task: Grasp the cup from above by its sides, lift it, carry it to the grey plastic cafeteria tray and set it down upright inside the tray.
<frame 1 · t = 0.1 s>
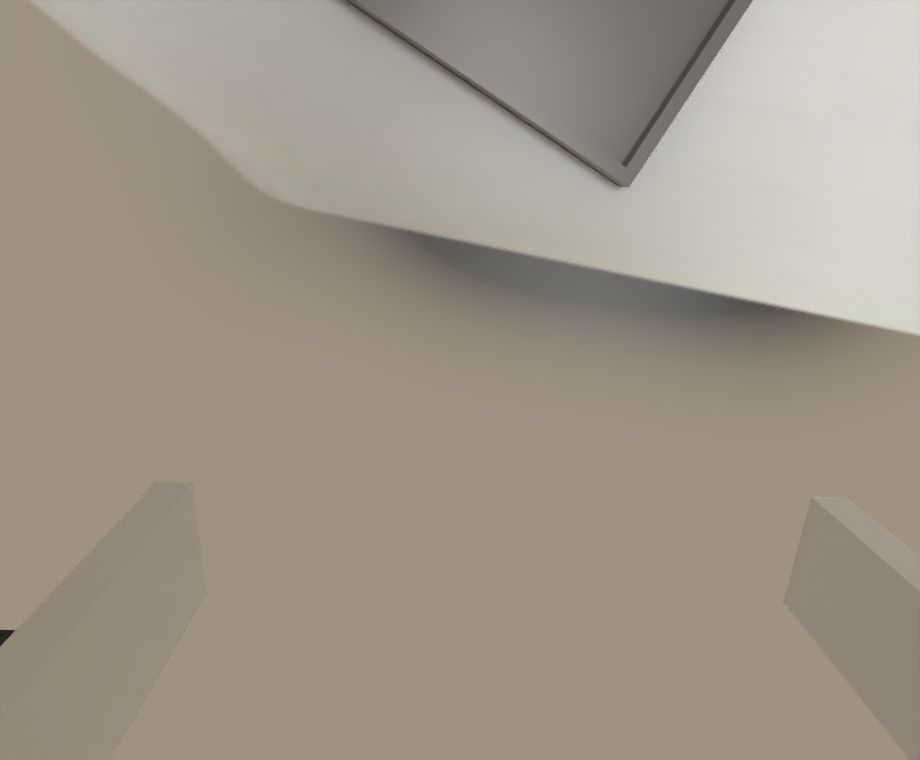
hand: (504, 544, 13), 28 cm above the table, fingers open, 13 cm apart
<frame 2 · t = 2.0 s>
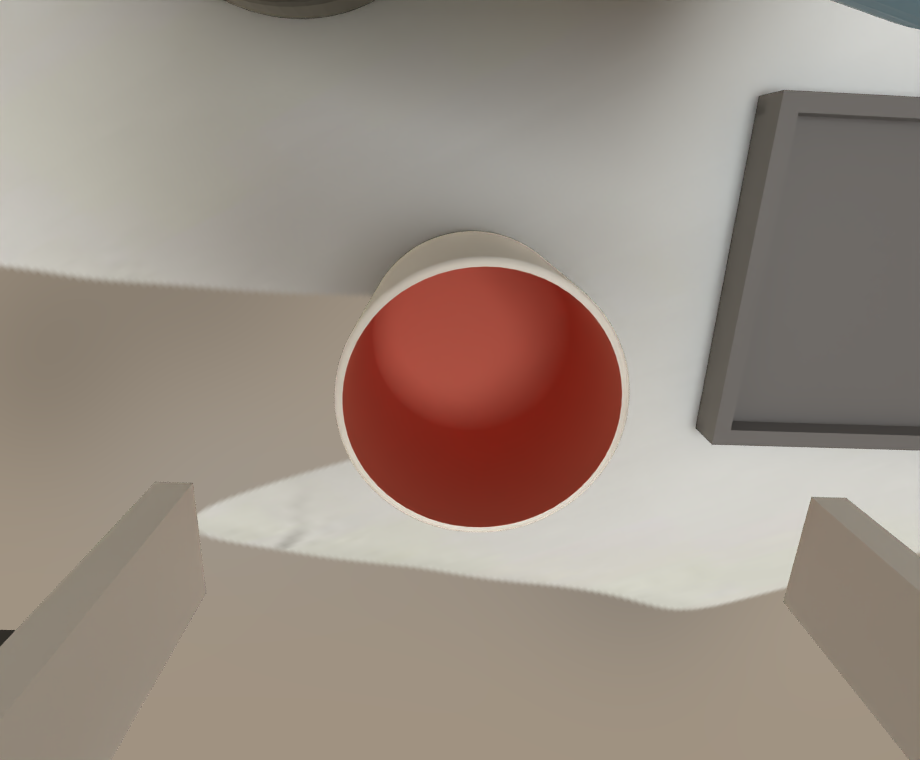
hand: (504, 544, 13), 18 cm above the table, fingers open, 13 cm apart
cup: (469, 330, 29), on the table
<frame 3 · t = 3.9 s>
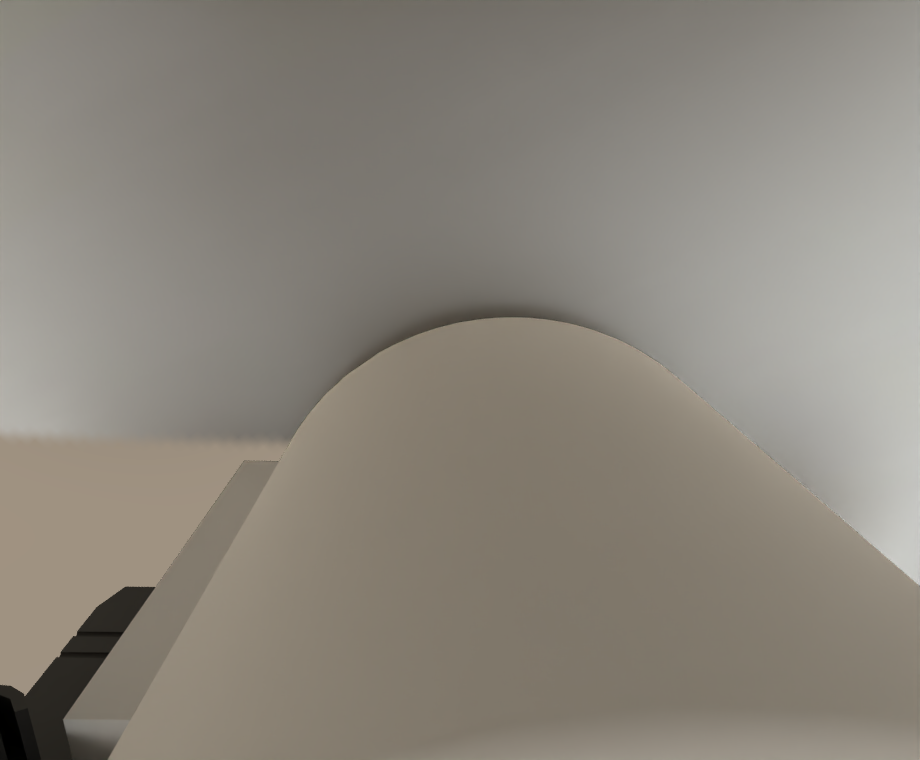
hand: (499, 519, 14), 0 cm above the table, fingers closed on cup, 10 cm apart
cup: (498, 507, 14), on the table, touching gripper
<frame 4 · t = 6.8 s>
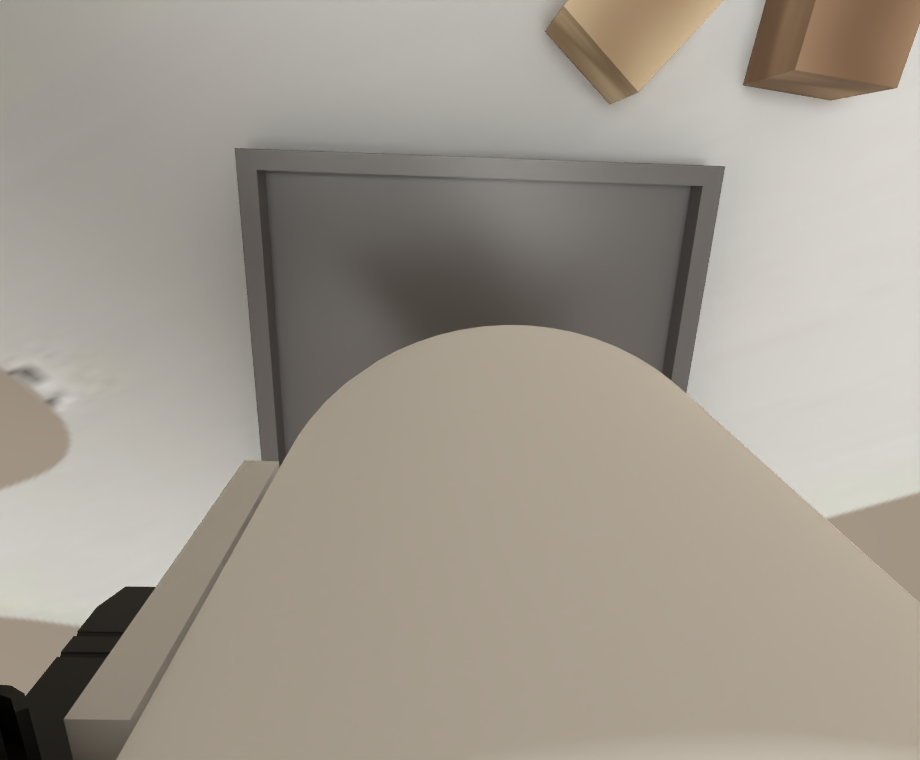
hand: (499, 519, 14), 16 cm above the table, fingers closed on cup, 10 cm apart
maple block: (612, 29, 24), on the table
cup: (497, 513, 14), point 15 cm above the table, touching gripper
tray: (473, 335, 28), on the table
walnut block: (801, 41, 25), on the table
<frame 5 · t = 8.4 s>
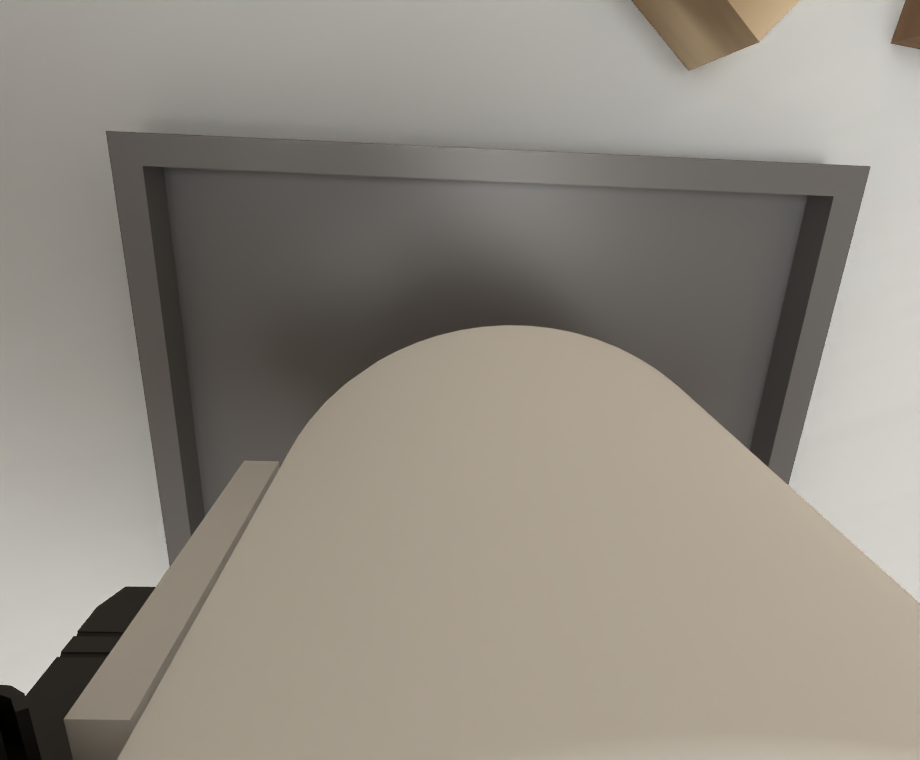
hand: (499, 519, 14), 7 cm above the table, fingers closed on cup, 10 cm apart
cup: (498, 513, 14), point 6 cm above the table, touching gripper
tray: (478, 405, 20), on the table
when the fingers open (3 cm above the table, at t = 9.7 s): cup drops 2 cm, resting on tray.
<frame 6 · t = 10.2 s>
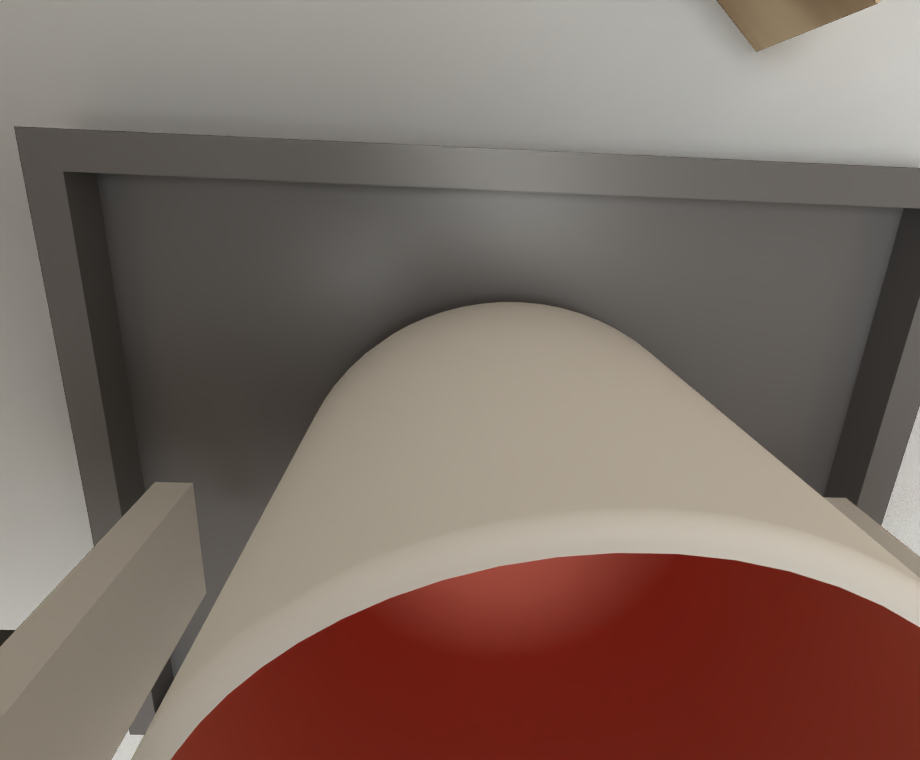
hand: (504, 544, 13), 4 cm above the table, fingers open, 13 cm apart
cup: (497, 473, 16), point 1 cm above the table, touching tray
tray: (490, 459, 16), on the table
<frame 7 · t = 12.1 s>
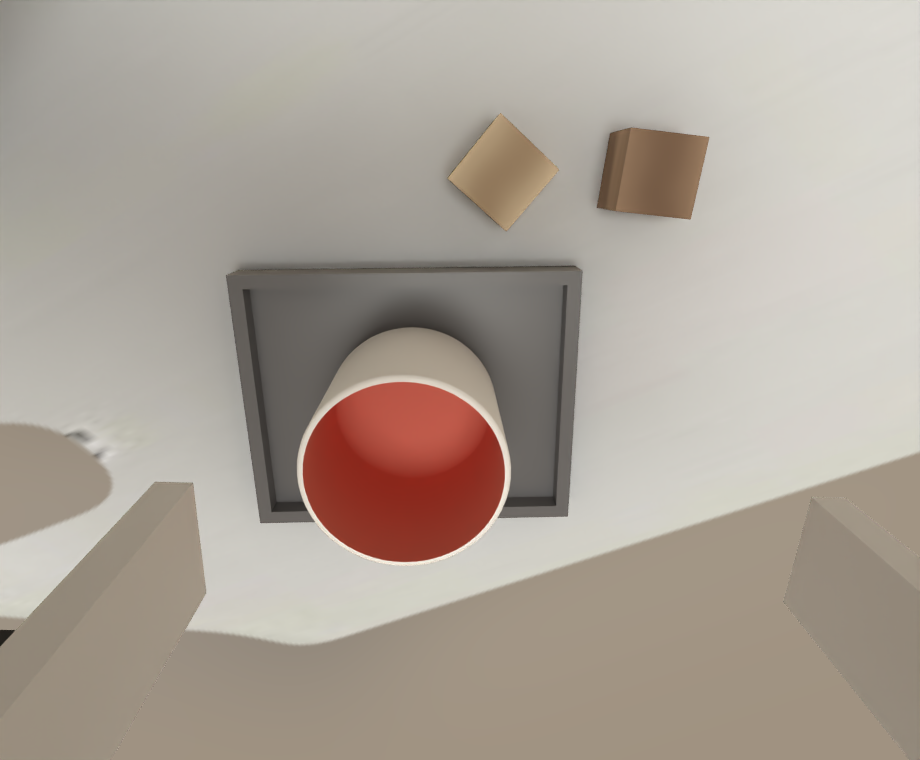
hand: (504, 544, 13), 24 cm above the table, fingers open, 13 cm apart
maple block: (496, 174, 33), on the table
cup: (414, 398, 37), point 1 cm above the table, touching tray
tray: (412, 393, 37), on the table
walnut block: (637, 175, 34), on the table
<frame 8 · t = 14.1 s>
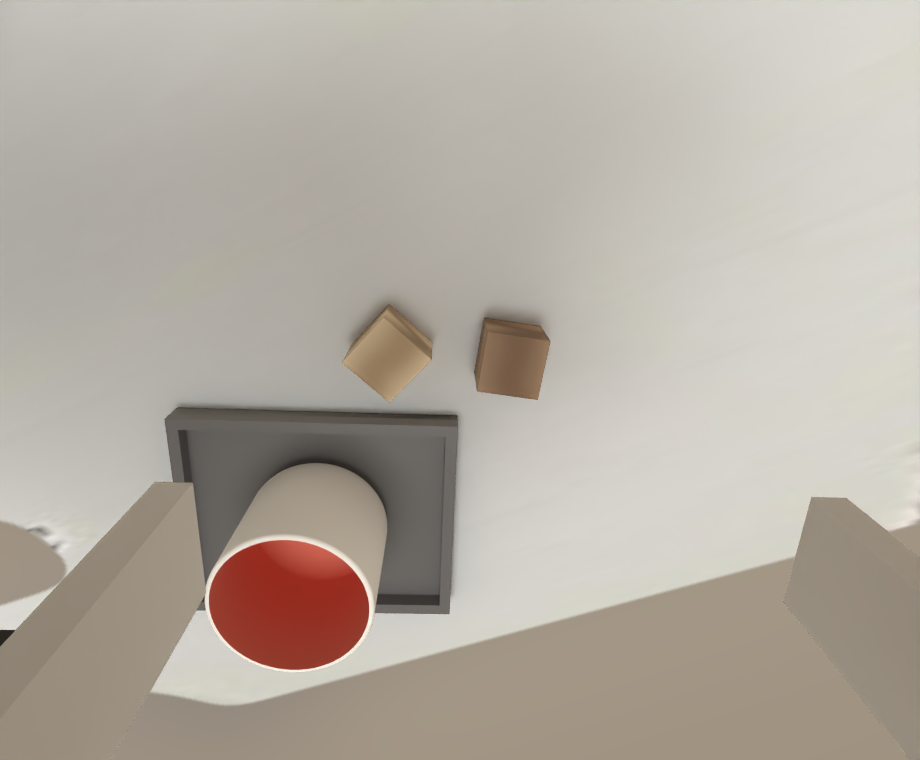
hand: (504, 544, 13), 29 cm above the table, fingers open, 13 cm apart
maple block: (391, 344, 41), on the table
cup: (323, 514, 44), point 1 cm above the table, touching tray
tray: (322, 508, 45), on the table
walnut block: (506, 349, 41), on the table
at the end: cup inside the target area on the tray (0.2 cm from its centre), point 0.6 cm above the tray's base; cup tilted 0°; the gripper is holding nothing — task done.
